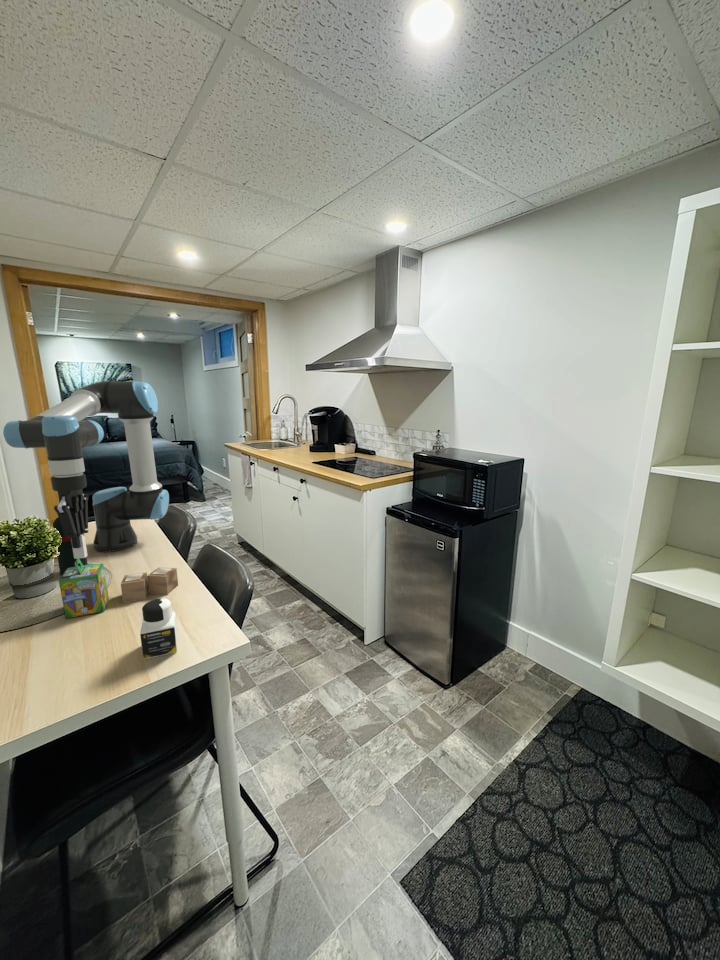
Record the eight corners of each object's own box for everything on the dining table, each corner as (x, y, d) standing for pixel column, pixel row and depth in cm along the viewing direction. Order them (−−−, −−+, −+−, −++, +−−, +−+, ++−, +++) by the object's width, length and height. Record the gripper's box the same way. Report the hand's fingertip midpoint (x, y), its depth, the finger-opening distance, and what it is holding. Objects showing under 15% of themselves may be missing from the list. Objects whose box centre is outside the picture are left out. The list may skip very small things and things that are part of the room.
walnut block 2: (160, 584, 126) (158, 566, 124) (178, 585, 125) (176, 567, 124) (149, 593, 120) (146, 574, 119) (167, 594, 119) (165, 575, 118)
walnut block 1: (127, 593, 120) (124, 574, 119) (148, 590, 122) (146, 571, 121) (123, 602, 115) (120, 583, 113) (145, 599, 117) (143, 579, 115)
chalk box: (103, 612, 109) (97, 563, 106) (64, 619, 106) (55, 569, 103) (109, 597, 118) (103, 551, 114) (73, 603, 114) (65, 556, 111)
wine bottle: (89, 563, 141) (77, 482, 135) (87, 574, 132) (75, 488, 126) (61, 568, 137) (48, 485, 130) (58, 579, 128) (44, 491, 122)
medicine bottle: (143, 660, 90) (137, 613, 87) (146, 642, 96) (140, 598, 94) (177, 652, 92) (172, 607, 90) (177, 636, 99) (173, 593, 96)
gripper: (65, 470, 109) (77, 549, 114) (37, 480, 96) (52, 568, 102) (95, 469, 110) (106, 547, 115) (71, 479, 98) (84, 566, 103)
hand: (80, 557), depth 108 cm, fingers closed
